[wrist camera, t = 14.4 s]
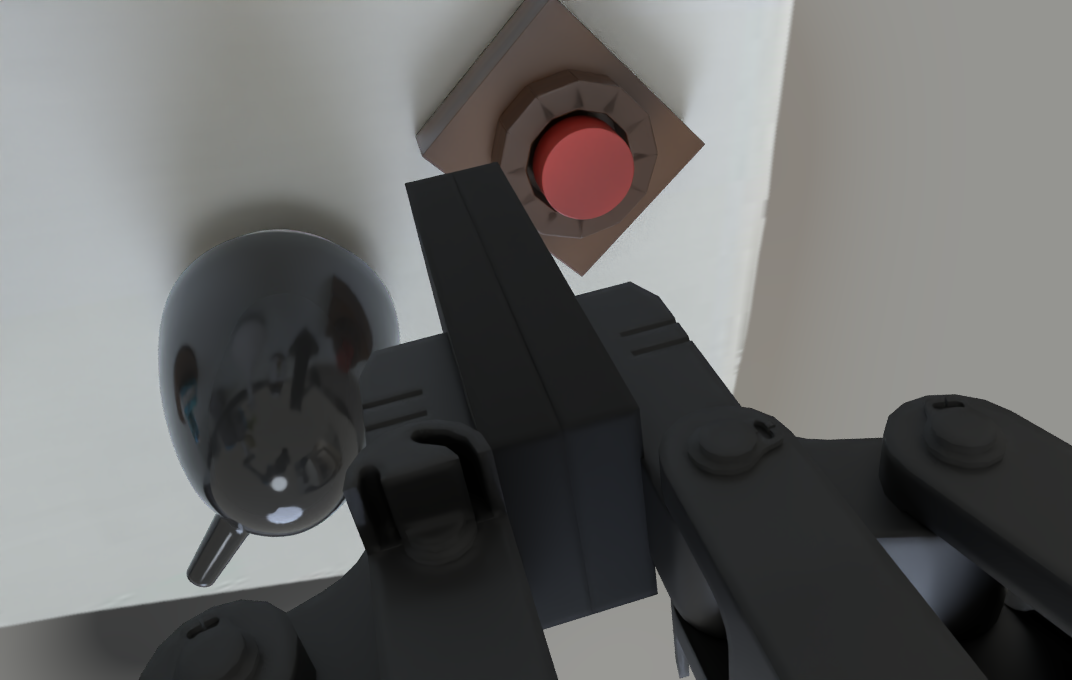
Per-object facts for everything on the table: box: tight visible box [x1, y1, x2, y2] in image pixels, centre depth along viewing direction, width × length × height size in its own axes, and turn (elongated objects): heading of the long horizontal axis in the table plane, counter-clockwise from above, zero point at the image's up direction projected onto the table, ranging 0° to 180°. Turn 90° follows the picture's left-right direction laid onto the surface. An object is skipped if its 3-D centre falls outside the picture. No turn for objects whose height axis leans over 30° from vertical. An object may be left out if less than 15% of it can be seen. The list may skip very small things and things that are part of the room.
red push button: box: [533, 115, 634, 219], centre depth 35 cm, size 4×4×2 cm
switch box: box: [416, 0, 705, 276], centre depth 37 cm, size 10×8×4 cm
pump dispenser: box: [158, 229, 400, 587], centre depth 34 cm, size 10×10×15 cm
